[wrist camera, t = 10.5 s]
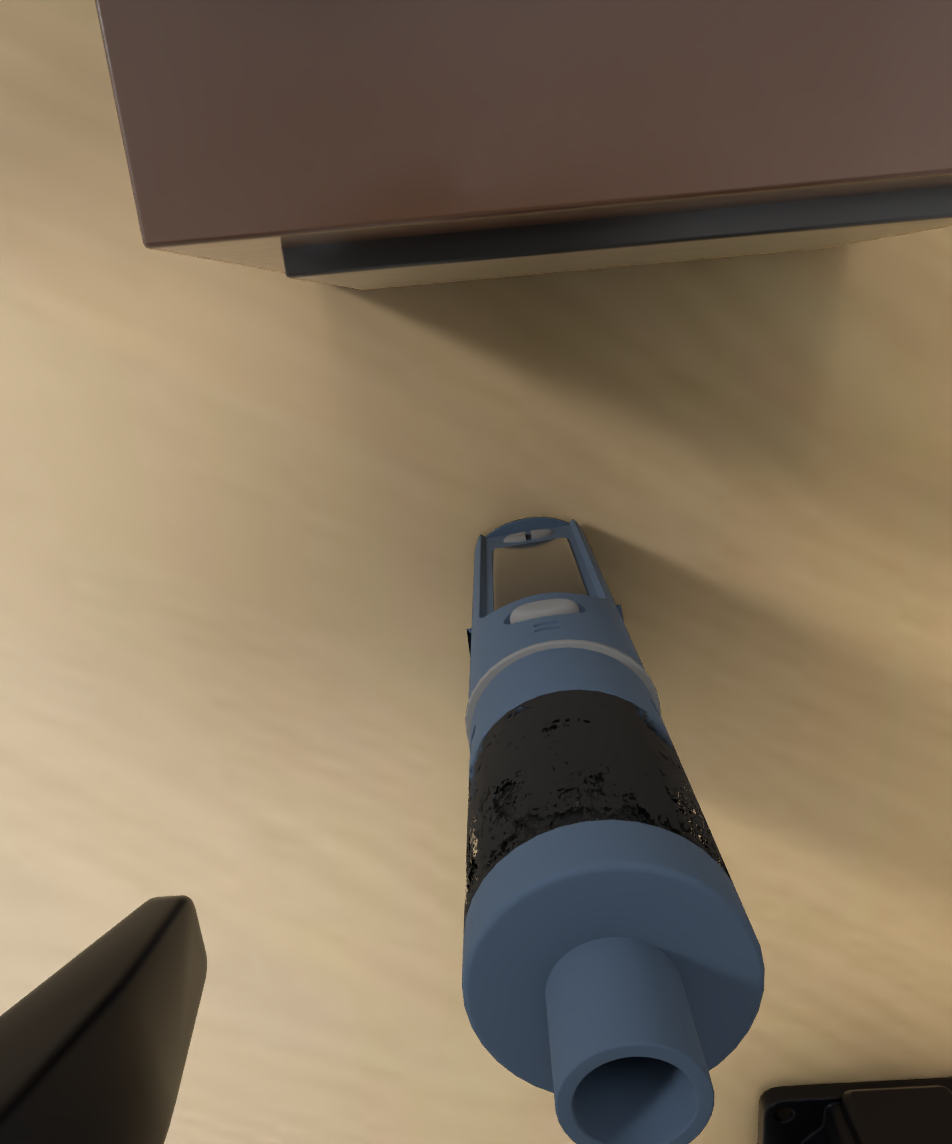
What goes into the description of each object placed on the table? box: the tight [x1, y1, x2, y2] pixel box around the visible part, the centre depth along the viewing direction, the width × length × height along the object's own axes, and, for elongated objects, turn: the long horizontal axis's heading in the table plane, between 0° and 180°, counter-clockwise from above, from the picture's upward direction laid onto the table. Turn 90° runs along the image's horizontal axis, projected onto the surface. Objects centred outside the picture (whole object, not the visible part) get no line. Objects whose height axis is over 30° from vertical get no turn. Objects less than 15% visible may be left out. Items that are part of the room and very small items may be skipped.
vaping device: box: [462, 517, 764, 1144], centre depth 11 cm, size 3×5×12 cm, turn 10°
